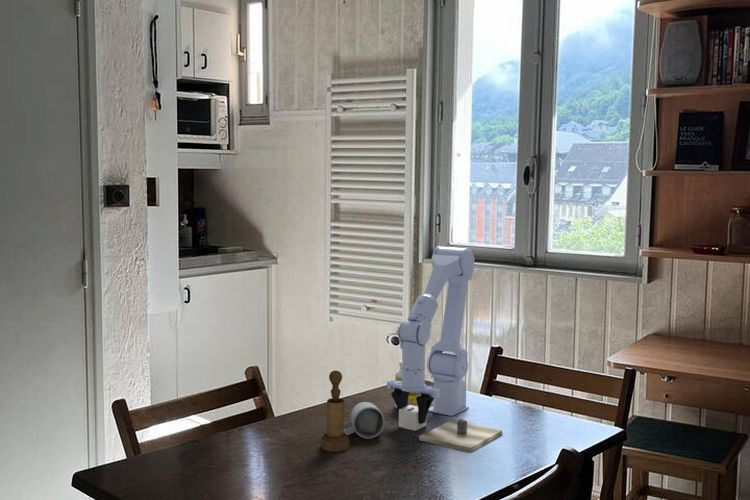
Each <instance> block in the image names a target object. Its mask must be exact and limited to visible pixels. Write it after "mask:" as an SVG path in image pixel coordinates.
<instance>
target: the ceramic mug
mask: <svg viewBox="0 0 750 500" xmlns="http://www.w3.org/2000/svg"><path fill="white" fill-rule="evenodd" d="M384 429H385V417H384V415H383V412H382V411H381V410H380V409H379V408H378V407H377V406H376V405H375V404H374V403H371V402H368V401H364V402H363V401H362V402H359V403H357V404H356V405H355V406H354V407H353V408H352V410H351V413H350V420H348V421H346V422H344V432H343V433H345V434H346V435H347V436H349V435H351V434H354V433H356V434H357V436H359V437H360V438H362V439H367V440H368V439H374V438H376V437H378V436H379V435H380V434H381V433H382V432H383V430H384Z"/></svg>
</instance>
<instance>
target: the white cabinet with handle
mask: <svg viewBox="0 0 750 500" xmlns="http://www.w3.org/2000/svg"><path fill="white" fill-rule="evenodd" d="M426 426H427V419H426V420H425V423H422V424H419V422H418V407H417V406H413V405H408V406H406V407H404V408H401V409H399V412H398V428H401V427H402V428H403V429H406V430H412V431H418V430H420V429H423V428H424V427H426Z"/></svg>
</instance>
